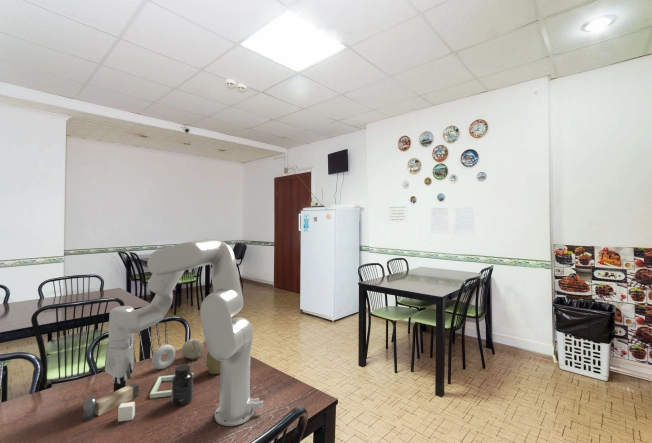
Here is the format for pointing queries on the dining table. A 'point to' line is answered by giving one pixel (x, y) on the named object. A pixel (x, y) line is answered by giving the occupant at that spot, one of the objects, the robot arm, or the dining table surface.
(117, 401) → the leg
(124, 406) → the block
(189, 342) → the garlic bulb
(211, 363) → the squeeze bottle
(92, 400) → the pivot post
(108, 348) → the robot arm
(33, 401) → the dining table surface
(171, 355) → the donut
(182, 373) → the supplement bottle
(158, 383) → the seat frame
